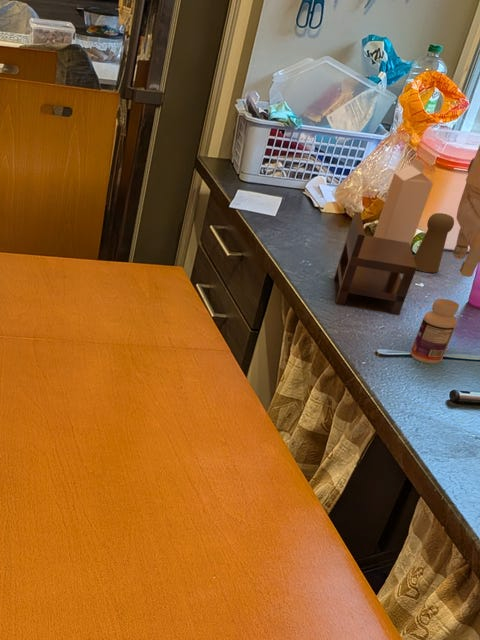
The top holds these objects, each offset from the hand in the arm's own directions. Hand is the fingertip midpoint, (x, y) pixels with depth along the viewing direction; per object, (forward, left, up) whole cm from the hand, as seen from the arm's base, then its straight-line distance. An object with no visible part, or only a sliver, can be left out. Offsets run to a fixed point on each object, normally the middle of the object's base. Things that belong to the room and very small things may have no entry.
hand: (461, 265), depth 153 cm
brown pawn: (-5, -54, -16) cm, 57 cm away
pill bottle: (0, 0, -16) cm, 16 cm away
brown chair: (+9, -28, -16) cm, 33 cm away
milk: (+5, -44, -16) cm, 47 cm away
